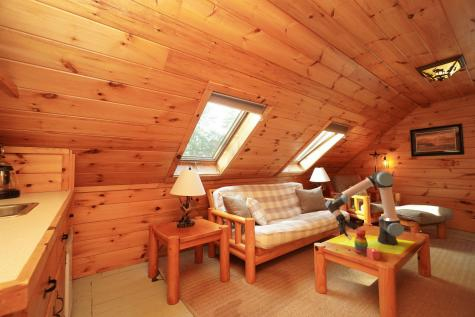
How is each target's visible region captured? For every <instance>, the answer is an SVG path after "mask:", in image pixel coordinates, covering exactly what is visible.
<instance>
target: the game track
mask: <svg viewBox="0 0 475 317" xmlns="http://www.w3.org/2000/svg"><path fill="white" fill-rule="evenodd" d="M370 248H371V247H367V249H370ZM351 249H352V251H353V252H355V250H354V249H355V248H351ZM358 254H359V255H361V256H363V257H367V254H360V253H358ZM381 255H382V253H380V256H381Z"/></svg>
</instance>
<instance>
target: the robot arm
mask: <svg viewBox="0 0 475 317" xmlns="http://www.w3.org/2000/svg"><path fill="white" fill-rule="evenodd" d="M394 181H395V179H394V176H393V174H392V173H390V172H388V171H376V172H373V173H372V174H370V175H368V176H367V177H365V179H364V180H362V181H360V182H358V183H356V184H355V185H353V186H351V187H349V188H347V189H346V190H344V191H342V192H340V193H338V194H335V195H334V196H333V200H332V199H329V200H327V201H326V202H325V204H324V205H325V207H326V208H327V210H328V211H329V212H330V213H331V215H332V216H333V217H334V219H335V220H336V221H337V222H336V223H337V225H338V228H339V231H340V233H341V234H342V235H343V234H344V236H345V237H346V238H347V240H348V241H351V240H353V238H352V236H351V235H350V234H349V233H348V232H349V231H347V230H346V227H349V228H350V229H352V230H354V233H355V234H356V229H358V226H357V225H356V224H354V223H353V222H352V221H351V220H350V219H348V218H347V219H346V216H345V215H344V214H343V212H342V211H341V210H340V208H342V207H343V206H345V205H346V204H347V203H349V202H350V198H352V197H354V196H356V195H357V194H360V193H361V192H363V191H365V190H367V189H369V188H370V187H375V186H376V188H377V189H378V190H379V193H380V199H381V205H382V209H383V214H384V215H383V216H382V215H381V216H378V226H379V230H378V231H379V234H378V236H377V242H378V243H379V244H383V245H388V246H396V245H399V244H398V239H397V237H398V238H399V237H400V236H402V235H403V234H404V233H405V227H404V226H403V225H402V223H401V222H402V221H401V219H400V218H399V217H398V215H397V210H396V205H395V199H394V194H393V190H392V188H394V184H393V183H394Z"/></svg>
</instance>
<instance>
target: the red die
mask: <svg viewBox="0 0 475 317" xmlns="http://www.w3.org/2000/svg"><path fill="white" fill-rule="evenodd" d="M369 248H370V249H367V256H366V257H367V258H369V259H371V260H373V261H377V260H381V255H380V254H381V252H380V250H378V249H377V248H375V247H374V248H373V247H372V248H371V247H369Z"/></svg>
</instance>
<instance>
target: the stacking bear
mask: <svg viewBox="0 0 475 317" xmlns="http://www.w3.org/2000/svg"><path fill="white" fill-rule="evenodd" d="M355 234H356V236H355V238H354V248H353V249H354V250H355V251H354V252H355V253H356V254H359V253H360V254H359V255H361V254H367V248H369V247H368V246H369V245H368V243H369V242H368V240H367V238H366V230H365V229H361V228H359V229H358V228H357V229H356V233H355Z"/></svg>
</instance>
